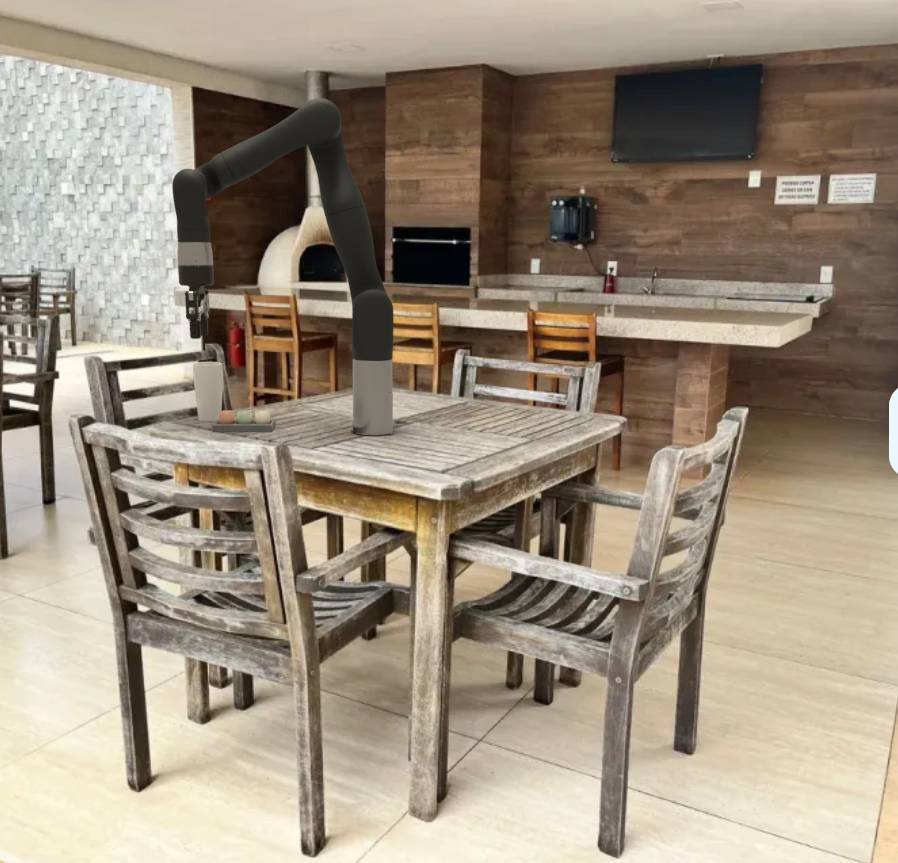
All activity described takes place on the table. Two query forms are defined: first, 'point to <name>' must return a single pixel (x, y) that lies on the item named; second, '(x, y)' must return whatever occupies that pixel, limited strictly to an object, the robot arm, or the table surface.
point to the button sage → (244, 417)
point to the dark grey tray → (244, 427)
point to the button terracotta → (226, 417)
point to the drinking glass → (208, 389)
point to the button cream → (262, 417)
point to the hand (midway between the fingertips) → (199, 337)
